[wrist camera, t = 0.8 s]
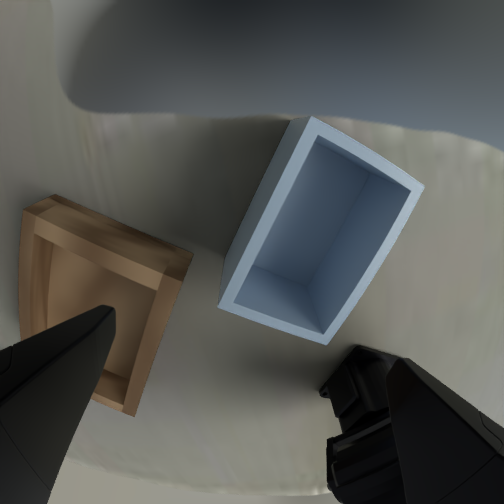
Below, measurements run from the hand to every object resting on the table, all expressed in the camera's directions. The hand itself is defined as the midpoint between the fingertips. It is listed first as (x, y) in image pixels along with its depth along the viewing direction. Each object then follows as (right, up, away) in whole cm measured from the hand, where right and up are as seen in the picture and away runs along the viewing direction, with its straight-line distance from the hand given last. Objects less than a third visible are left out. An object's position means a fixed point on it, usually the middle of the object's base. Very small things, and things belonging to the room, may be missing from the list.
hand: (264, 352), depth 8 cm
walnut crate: (-13, -1, +13) cm, 18 cm away
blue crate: (+3, +5, +11) cm, 13 cm away
